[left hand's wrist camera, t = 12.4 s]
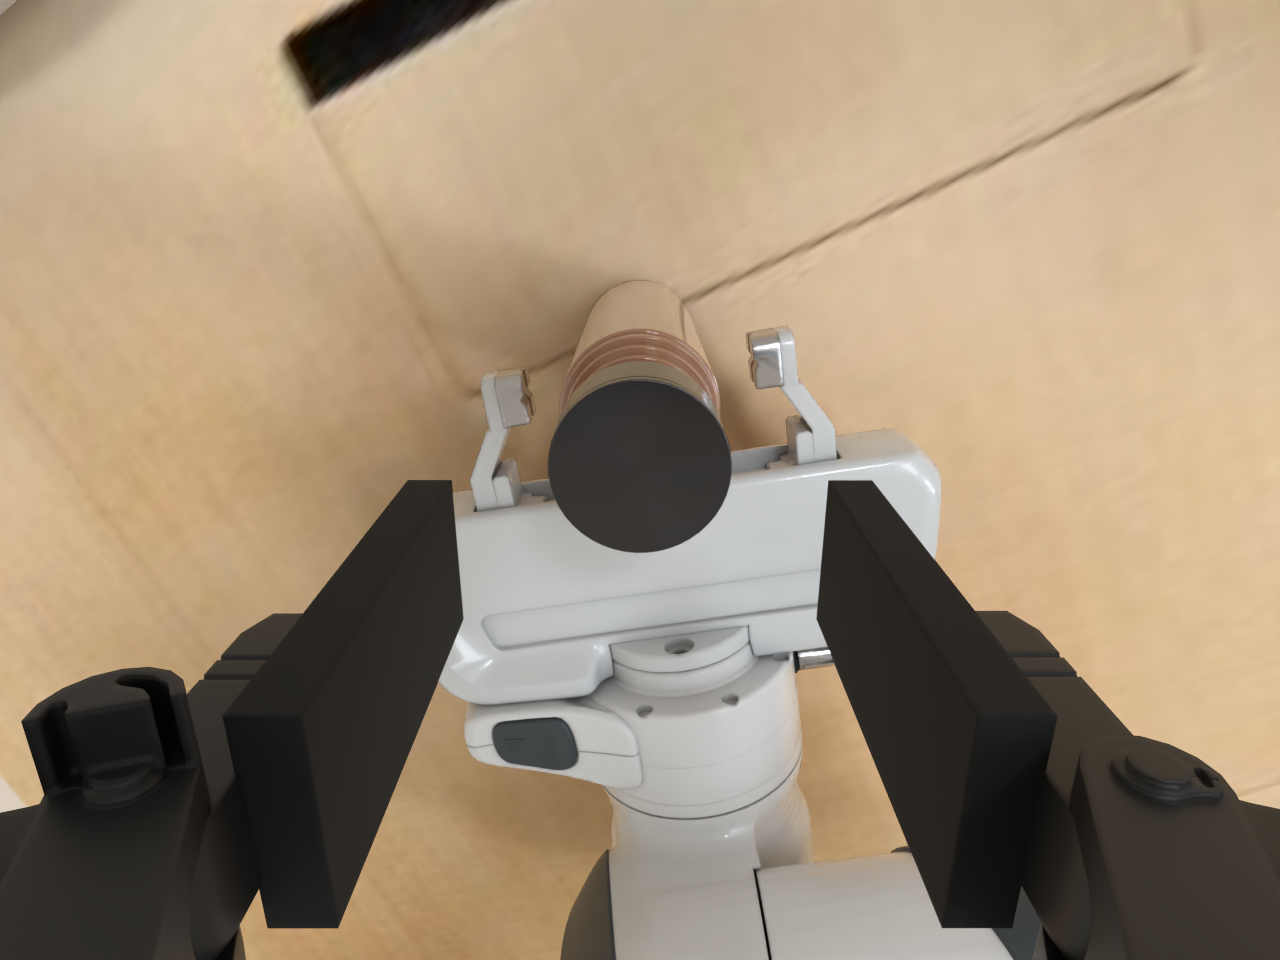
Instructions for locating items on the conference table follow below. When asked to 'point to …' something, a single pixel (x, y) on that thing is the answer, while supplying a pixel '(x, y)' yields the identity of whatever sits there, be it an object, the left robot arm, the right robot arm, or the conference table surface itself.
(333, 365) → the conference table surface
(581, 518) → the cap
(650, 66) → the conference table surface
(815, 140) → the conference table surface
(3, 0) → the projector
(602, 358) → the bottle
